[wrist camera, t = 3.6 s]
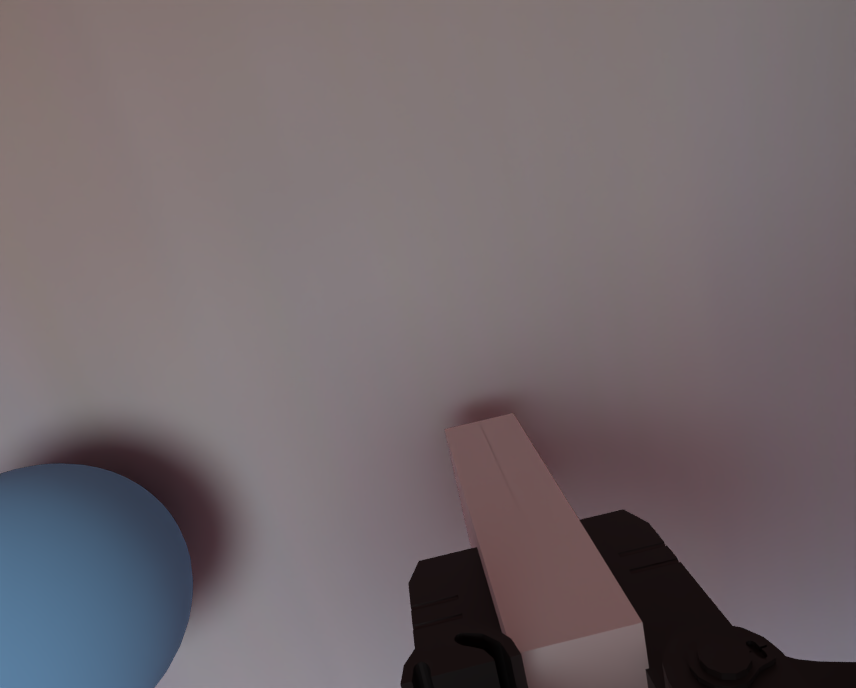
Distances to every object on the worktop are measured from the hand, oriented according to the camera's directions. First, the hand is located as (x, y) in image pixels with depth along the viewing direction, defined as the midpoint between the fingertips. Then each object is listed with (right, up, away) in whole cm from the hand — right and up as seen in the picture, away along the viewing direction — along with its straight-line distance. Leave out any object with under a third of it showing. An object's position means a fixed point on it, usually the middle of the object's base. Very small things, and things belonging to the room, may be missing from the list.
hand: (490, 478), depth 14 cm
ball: (-9, -2, -1) cm, 9 cm away
